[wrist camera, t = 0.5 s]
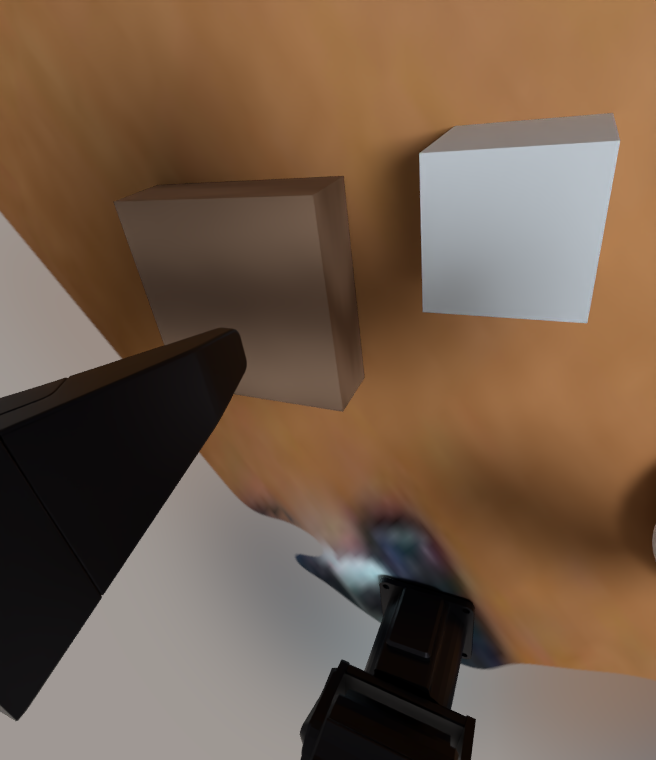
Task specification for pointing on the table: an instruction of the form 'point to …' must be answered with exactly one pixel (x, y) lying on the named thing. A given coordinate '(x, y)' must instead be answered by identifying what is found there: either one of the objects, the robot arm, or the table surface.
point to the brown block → (256, 278)
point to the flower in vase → (654, 542)
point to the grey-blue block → (516, 216)
